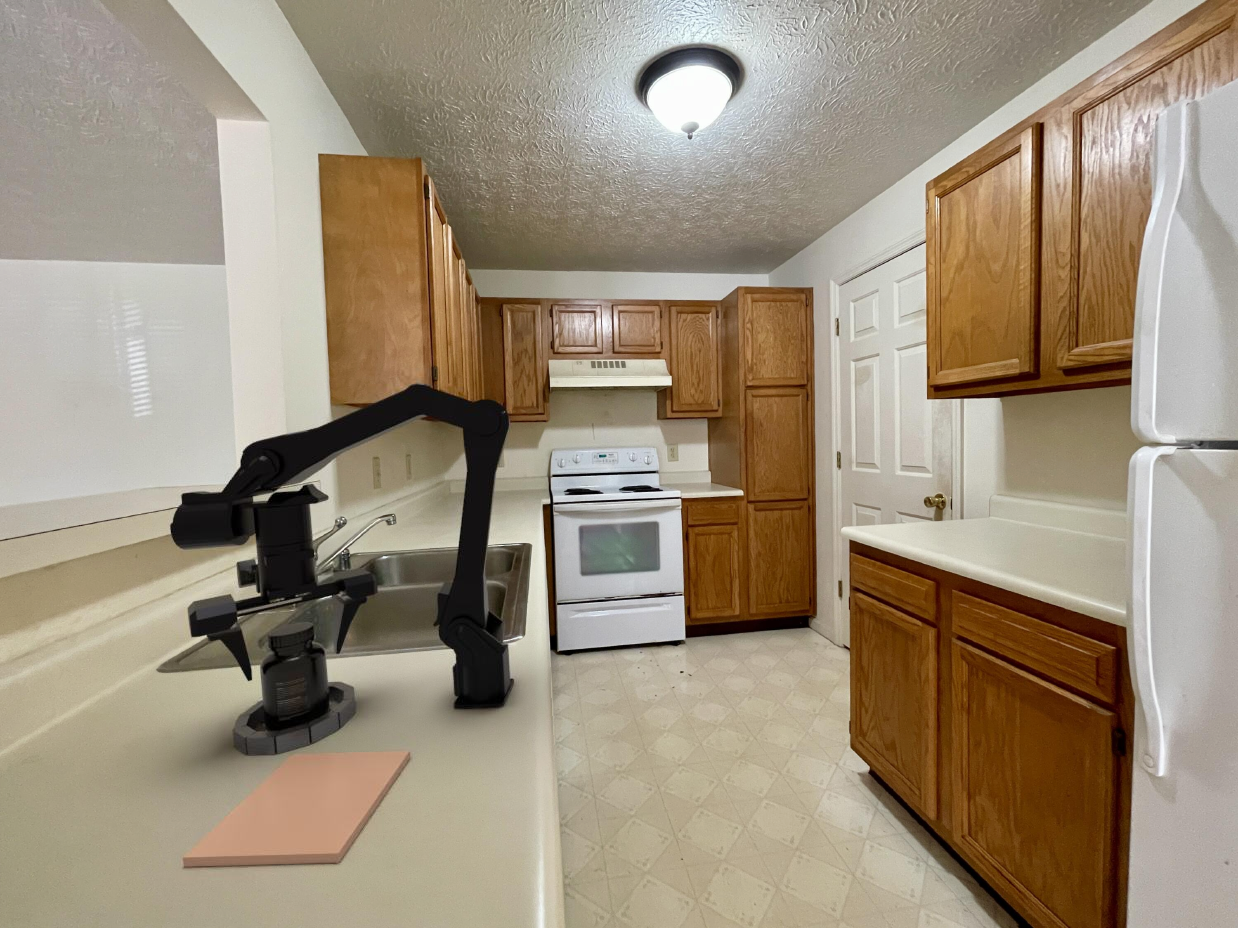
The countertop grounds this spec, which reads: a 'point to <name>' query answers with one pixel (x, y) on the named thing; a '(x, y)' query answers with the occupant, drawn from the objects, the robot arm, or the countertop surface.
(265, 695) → the supplement bottle
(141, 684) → the countertop surface
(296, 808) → the tile
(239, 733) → the collar
